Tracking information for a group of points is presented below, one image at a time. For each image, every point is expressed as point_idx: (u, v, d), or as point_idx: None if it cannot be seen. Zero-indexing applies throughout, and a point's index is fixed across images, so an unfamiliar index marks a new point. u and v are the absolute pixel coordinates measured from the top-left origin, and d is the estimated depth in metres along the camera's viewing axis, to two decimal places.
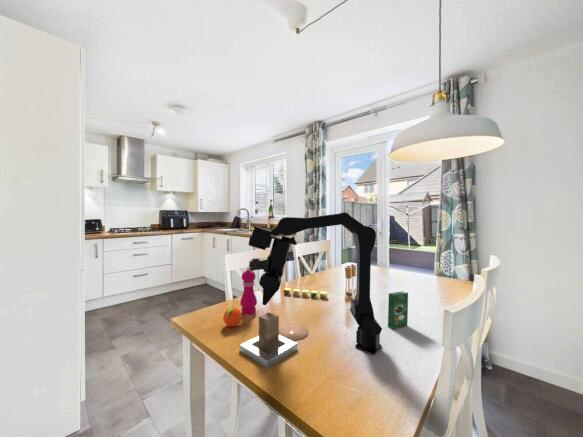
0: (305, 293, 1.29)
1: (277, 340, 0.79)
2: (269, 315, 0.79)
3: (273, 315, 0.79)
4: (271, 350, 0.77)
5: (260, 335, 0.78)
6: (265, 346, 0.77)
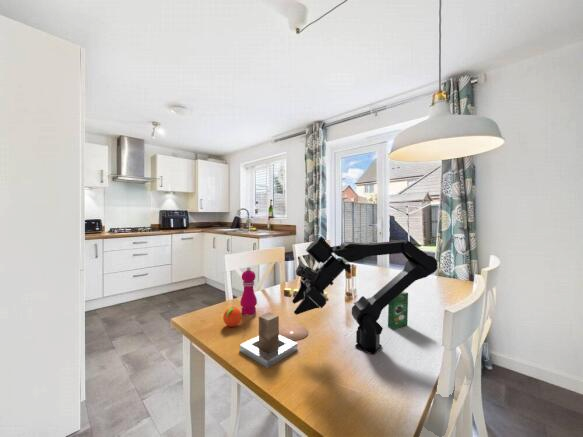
0: None
1: (277, 340, 0.79)
2: (269, 315, 0.79)
3: (273, 315, 0.79)
4: (271, 350, 0.77)
5: (260, 335, 0.78)
6: (265, 346, 0.77)
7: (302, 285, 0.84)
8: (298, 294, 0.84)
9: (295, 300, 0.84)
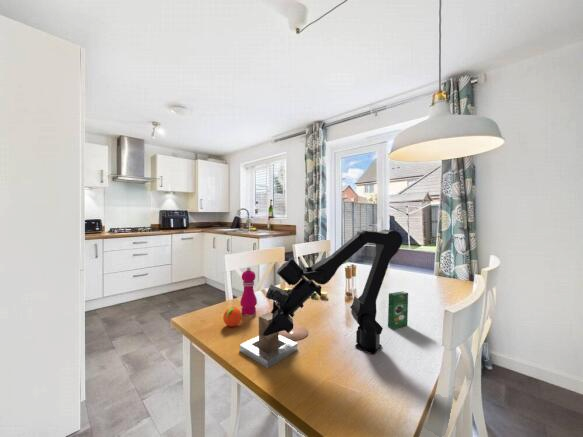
0: None
1: (277, 340, 0.79)
2: (269, 315, 0.79)
3: None
4: (271, 350, 0.77)
5: (260, 335, 0.78)
6: (265, 346, 0.77)
7: (274, 307, 0.83)
8: None
9: None
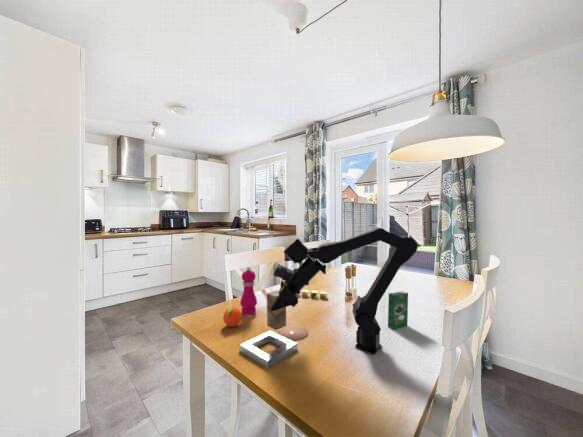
0: (305, 293, 1.29)
1: (284, 316, 0.83)
2: (276, 292, 0.84)
3: None
4: (278, 325, 0.81)
5: (268, 311, 0.83)
6: (272, 321, 0.81)
7: (282, 286, 0.87)
8: None
9: None
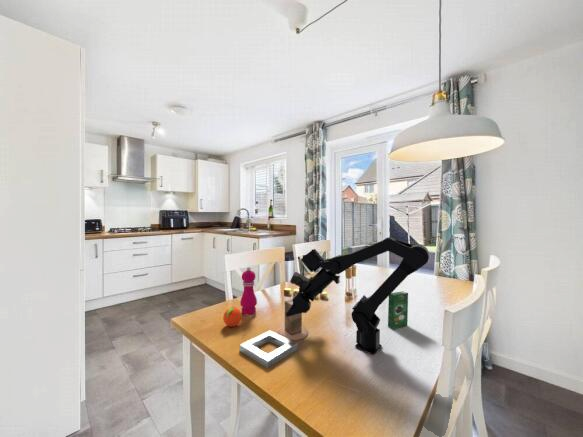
0: None
1: (300, 323, 0.90)
2: None
3: None
4: (294, 331, 0.88)
5: (285, 317, 0.91)
6: (289, 327, 0.89)
7: (300, 291, 0.95)
8: None
9: None
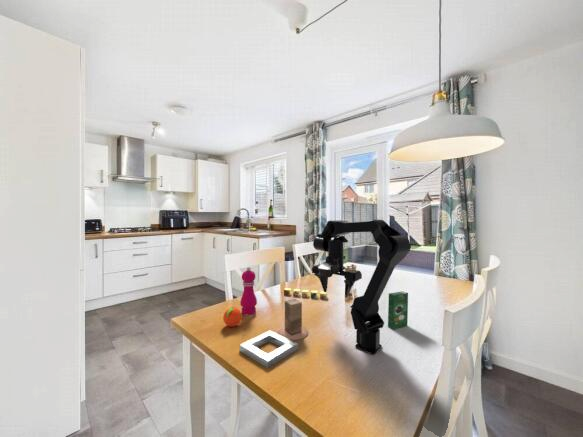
0: (305, 293, 1.29)
1: (300, 323, 0.90)
2: (293, 301, 0.91)
3: (297, 301, 0.91)
4: (294, 331, 0.88)
5: (285, 317, 0.91)
6: (289, 327, 0.89)
7: (321, 276, 0.96)
8: (324, 284, 0.96)
9: (325, 289, 0.97)
